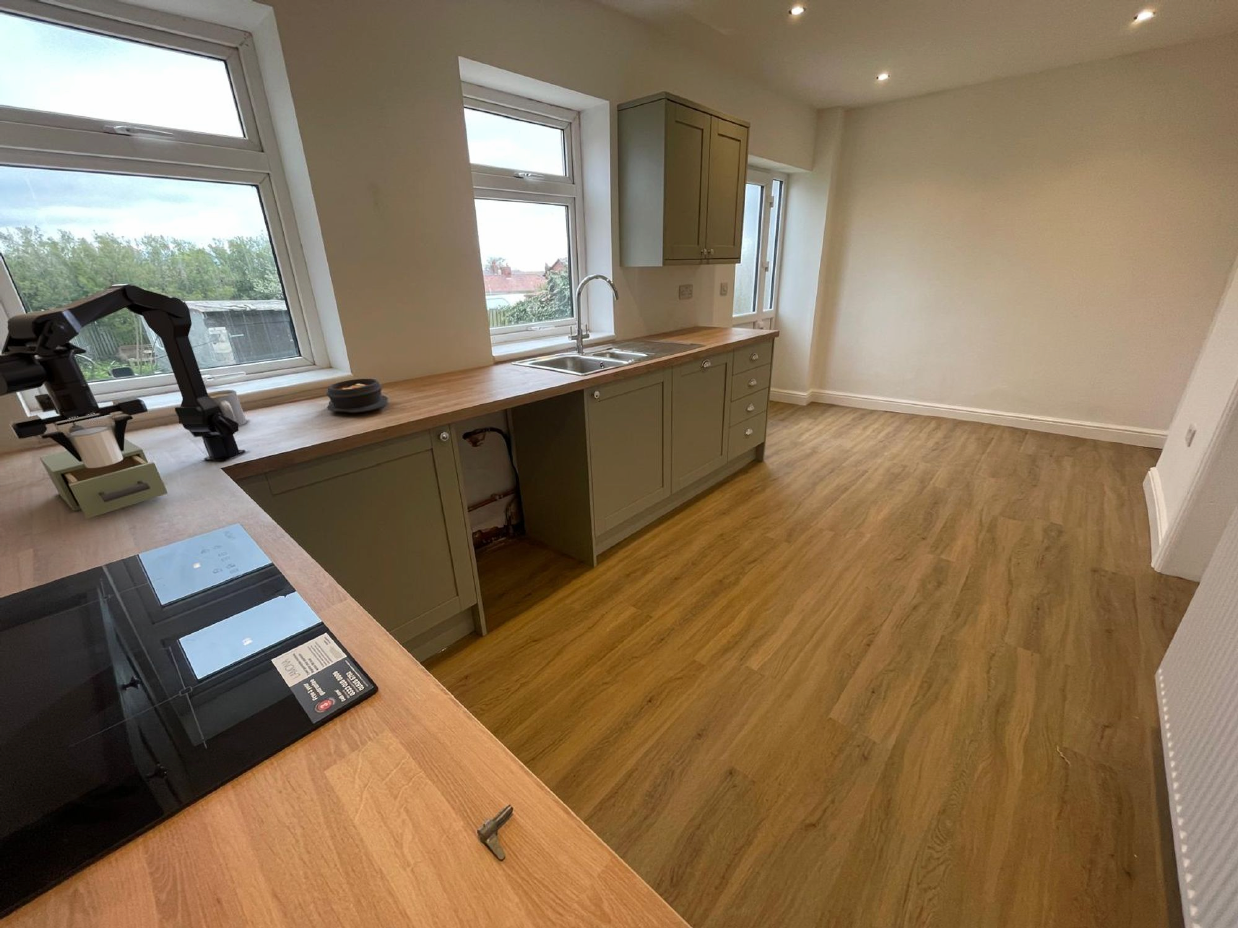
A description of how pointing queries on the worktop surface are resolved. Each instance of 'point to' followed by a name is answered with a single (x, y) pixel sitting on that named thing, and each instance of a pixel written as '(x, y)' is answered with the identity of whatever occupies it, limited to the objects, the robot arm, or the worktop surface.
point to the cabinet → (68, 462)
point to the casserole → (356, 396)
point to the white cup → (96, 446)
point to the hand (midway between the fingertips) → (101, 455)
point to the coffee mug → (229, 405)
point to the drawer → (115, 485)
